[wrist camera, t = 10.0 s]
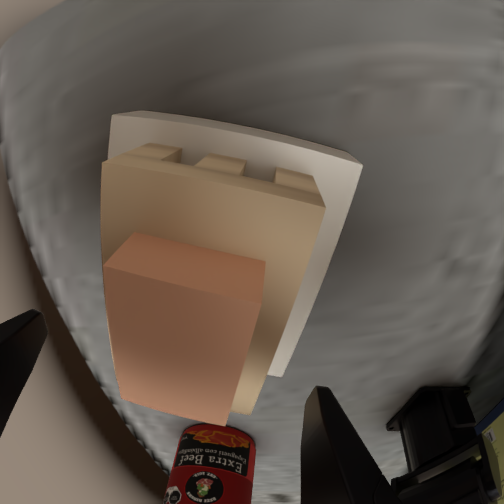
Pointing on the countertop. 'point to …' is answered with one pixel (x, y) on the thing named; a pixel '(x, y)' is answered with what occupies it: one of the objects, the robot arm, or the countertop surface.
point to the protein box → (495, 437)
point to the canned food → (212, 467)
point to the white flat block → (263, 168)
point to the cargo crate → (181, 324)
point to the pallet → (219, 229)
